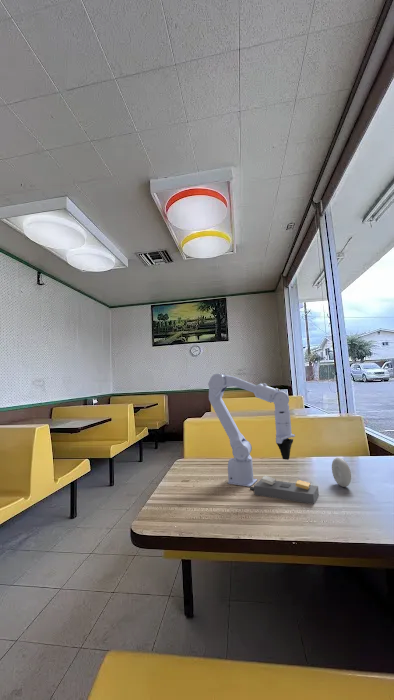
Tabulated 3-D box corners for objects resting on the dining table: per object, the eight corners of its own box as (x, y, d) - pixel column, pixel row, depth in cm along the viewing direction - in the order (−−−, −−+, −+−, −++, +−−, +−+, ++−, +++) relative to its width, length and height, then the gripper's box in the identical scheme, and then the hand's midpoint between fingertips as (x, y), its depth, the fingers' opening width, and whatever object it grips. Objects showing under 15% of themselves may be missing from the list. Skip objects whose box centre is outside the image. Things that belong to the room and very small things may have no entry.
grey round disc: (354, 490, 104) (351, 461, 105) (345, 491, 104) (342, 461, 105) (340, 481, 114) (337, 454, 115) (331, 481, 114) (328, 454, 115)
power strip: (246, 493, 107) (245, 484, 108) (254, 486, 114) (254, 477, 114) (314, 504, 95) (313, 493, 95) (318, 495, 102) (317, 485, 102)
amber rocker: (295, 486, 101) (295, 483, 101) (298, 482, 104) (298, 479, 104) (308, 489, 98) (308, 486, 98) (310, 486, 101) (310, 483, 101)
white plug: (261, 481, 107) (261, 478, 107) (264, 478, 110) (265, 475, 110) (272, 485, 105) (272, 482, 105) (275, 481, 108) (275, 479, 108)
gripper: (288, 426, 107) (291, 465, 106) (298, 420, 120) (301, 455, 118) (269, 425, 111) (272, 463, 110) (280, 419, 123) (283, 453, 122)
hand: (286, 459), depth 114 cm, fingers closed
